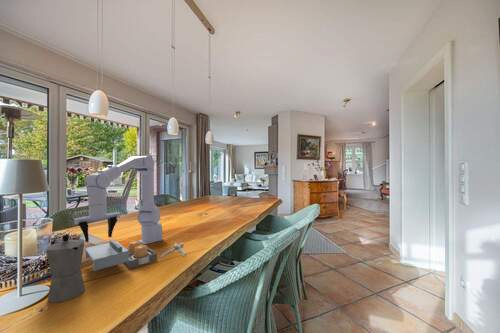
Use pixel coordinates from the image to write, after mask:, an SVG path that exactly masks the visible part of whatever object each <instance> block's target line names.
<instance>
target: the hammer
mask: <svg viewBox="0 0 500 333" xmlns="http://www.w3.org/2000/svg"><path fill="white" fill-rule="evenodd" d="M183 244H184V243H183V242H182V241H181V242H180V243H179V244H178V243H177V242H175V243H174V247H173V248H172V249H168V250H166V251H165V252H163V253H162V254H161V255H160V259H163V257H165V256H167V254H168V255H169V254H172V253H174V252H175V250H176V252H177V253H181V254H182V258H184V257H185V256H186V250H185V249H183V248H182V247H183Z"/></svg>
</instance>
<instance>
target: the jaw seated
mask: <svg viewBox="0 0 500 333" xmlns="http://www.w3.org/2000/svg"><path fill="white" fill-rule="evenodd" d="M147 247H148V245H147V244H145V245H144V244H140V246H137V247H135V258H139V257H143V256H146V255H147Z"/></svg>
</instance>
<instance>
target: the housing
mask: <svg viewBox="0 0 500 333" xmlns="http://www.w3.org/2000/svg"><path fill="white" fill-rule="evenodd" d="M126 249H127V250H128V251H129V248H126ZM156 261H158V253H157V252H156V251H154V250H153V249H151V248H150V247H149V246H147V255H146V256H143V257H139V258H135V253H129V261H127V262H124V263H123V264H125V265H126V267H128V269H129V270H131V269H134V268H137V267H140V266H141V267H142V266H144V265H147V264H150V262H151V263H153V262H156Z"/></svg>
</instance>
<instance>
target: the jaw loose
mask: <svg viewBox="0 0 500 333" xmlns="http://www.w3.org/2000/svg"><path fill="white" fill-rule="evenodd" d="M140 245H141V242H140V241H139V240H134V241H130V242H129V243H128V249H129V253H135V247H137V246H140Z"/></svg>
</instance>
